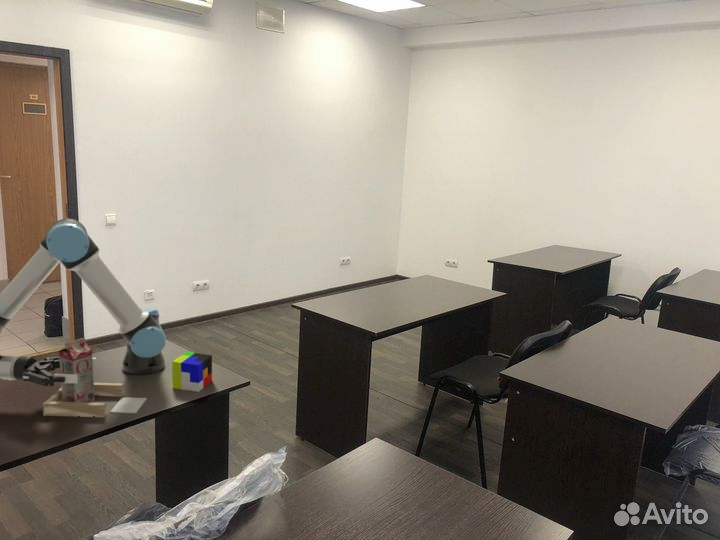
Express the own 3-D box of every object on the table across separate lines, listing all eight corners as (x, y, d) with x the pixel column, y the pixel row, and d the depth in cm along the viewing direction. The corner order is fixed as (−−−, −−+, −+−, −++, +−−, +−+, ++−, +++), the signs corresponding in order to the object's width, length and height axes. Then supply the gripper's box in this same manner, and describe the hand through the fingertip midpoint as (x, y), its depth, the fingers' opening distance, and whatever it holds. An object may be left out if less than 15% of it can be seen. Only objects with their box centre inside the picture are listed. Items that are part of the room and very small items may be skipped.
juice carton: (94, 403, 177) (91, 339, 172) (75, 411, 171) (71, 345, 166) (81, 398, 180) (77, 335, 175) (62, 405, 174) (58, 341, 169)
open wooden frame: (68, 392, 183) (67, 381, 182) (124, 394, 184) (123, 383, 183) (43, 415, 167) (42, 403, 166) (104, 417, 168) (103, 405, 167)
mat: (122, 398, 181) (122, 397, 181) (146, 399, 181) (146, 398, 181) (110, 412, 171) (110, 411, 171) (135, 413, 172) (135, 412, 171)
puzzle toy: (198, 392, 189) (198, 365, 187) (172, 388, 191) (172, 361, 189) (212, 380, 199) (211, 355, 196) (187, 377, 200) (186, 351, 198)
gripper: (40, 364, 185) (103, 366, 186) (-5, 396, 160) (68, 398, 162) (38, 343, 183) (102, 345, 184) (-7, 372, 159) (67, 374, 160)
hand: (86, 370), depth 173 cm, fingers open, 13 cm apart
